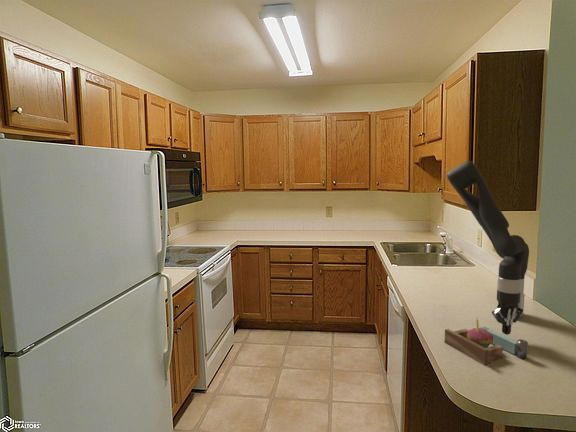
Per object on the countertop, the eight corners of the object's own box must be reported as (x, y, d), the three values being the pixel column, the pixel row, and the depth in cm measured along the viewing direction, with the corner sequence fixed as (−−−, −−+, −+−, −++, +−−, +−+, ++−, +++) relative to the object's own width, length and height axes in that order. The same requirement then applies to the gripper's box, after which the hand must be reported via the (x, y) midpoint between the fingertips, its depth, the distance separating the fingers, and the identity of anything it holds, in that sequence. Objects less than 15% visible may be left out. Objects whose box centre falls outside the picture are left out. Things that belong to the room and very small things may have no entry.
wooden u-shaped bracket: (463, 337, 142) (463, 325, 141) (504, 359, 126) (505, 345, 125) (444, 342, 139) (444, 329, 138) (484, 365, 123) (485, 350, 122)
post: (520, 354, 129) (521, 338, 128) (528, 358, 126) (530, 342, 125) (514, 355, 128) (515, 340, 127) (522, 360, 125) (523, 344, 124)
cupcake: (481, 356, 128) (483, 323, 126) (460, 346, 136) (462, 314, 134) (498, 351, 132) (500, 318, 130) (477, 341, 139) (478, 310, 138)
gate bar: (518, 352, 129) (519, 342, 129) (513, 354, 128) (514, 343, 128) (484, 336, 142) (484, 326, 142) (479, 337, 141) (480, 327, 141)
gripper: (503, 294, 132) (500, 340, 134) (531, 290, 136) (528, 335, 138) (486, 288, 139) (484, 332, 141) (513, 284, 143) (511, 327, 145)
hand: (506, 333), depth 140 cm, fingers closed
